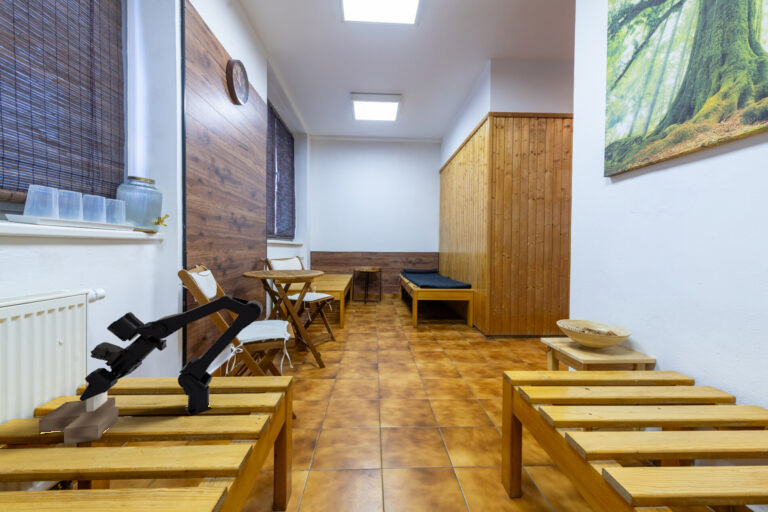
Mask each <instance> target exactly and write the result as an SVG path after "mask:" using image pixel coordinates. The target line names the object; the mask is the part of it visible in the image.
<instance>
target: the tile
mask: <svg viewBox="0 0 768 512" xmlns="http://www.w3.org/2000/svg"><path fill="white" fill-rule="evenodd" d="M88 385H89V383H87V384H86V385H85V389H86V388H87V386H88ZM107 398H108V391H106V392H105V393H101V394H99V395H96V396H94V397H91V398H89V399H87V400H86V411H87V412H91V411H95V410H96V409H97V408H98V407H100V406H101V405H102V404H103V403H104V402H106V401H107Z"/></svg>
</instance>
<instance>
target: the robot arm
mask: <svg viewBox="0 0 768 512" xmlns="http://www.w3.org/2000/svg"><path fill="white" fill-rule="evenodd" d="M222 310H226V311H227V310H228V311H229V312H231V313H234V314H235V315H237V316H236V318H235V319H234V321H233V322H232V323H231V324H230V326H229V327H228V328H227V329H226V330H225V331H224V332H223V333H222V334H221V335H220V336H219V337H218V338H217V340H215V341H214V343H213V344H212V345H211V346H210V347H209V348H208V349H207V350H206V351H205V352H204V353H203V354H202V355H200V356H197V355H194V356H192V358H191V359H190V360H189V361H188V362H187V363H186V364H185V365H184V367H182V368H181V370H180V371H179V375H178V376H177V383H178V385H179V386H180V387H181V388H182V390H183V392H184V393H185V396H187V405H188V407H183V409H184V410H185V412H186V413H187V414H188V415H189V416H192V415H196V414H199V413H202V412H205V411H208V410H211V409H212V408H211V407H208V405H209V402H210V384H211V382H212V380H213V375H211V373H209V372H208V369H209V368H210V366H211V364H213V362H214V361H215V360H216V359H217V358H218V357H219V356H220V354H221V353H222V352H223V351H224V350H225V349H226V348H227V347H228V346H229V345H230V344H231V342H233V341H234V339H235V338H236V337H237V336H238V335H239V334H240V333H241V332H242V331H243V330H245V329H246V328H248V327H249V326H250V325H252V323H254V322H255V321H257V320H258V319H259V318H260V316H261V315H262V312H263V310H264V309H263V304H262V303H261V302H260V301H259V300H255V299H254V300H253V299H252V300H248V299H245V298H240V297H236V296H233V295H231V294H224V295H222V296H221V297H219V298H216V299H214V300H211V301H208V302H206V303H203V304H202V305H199V306H197V307H195V308H192V309H189V310H187V311H184V312H178V313H175V314H170V315H165V316H163V317H161V318H158V319H156V320H153V321H149V322H146V323H144V322H143V321H142V320H140V318H138V317H136V316H135V314H134V313H133V312H131V311H129V312H126V313H125V314H124V315H122V316H121V317H119V318H118V319H116V320H115V321H112V322H111V323H110V324H109V325H108V326H107V327H106V330H107V331H108V332H110V333H112V334H113V335H114V336H115V337H116V338H117V339H119V340H120V341H122V342H127V341H129V342H131V341H132V340H134V341H132V342H131V343H130V344H129V345H128V346H126V347H125V348H124V347H121V346H119V345H117V344H113V343H110V342H107V341H104V342H101V343H99V344H97V345H96V346H95V347H94V348H93V349H92V350H91V351H90V357H91V358H92V359H96V360H100V361H104V362H105V363H104V364H105V365H106V366H107V367H109V368H110V371H109V370H108V369H106V368H105V367H99V368H96V369H94V370H93V371H91V372H90V373H89V374H88V375H87V376H85V377H84V381H86V382H87V384H89V385H88V386H87V388H86V387H85V389H84V390H83V392H82V394H81V396H80V397H79V398H78V399H79V401H84V400H87V399H89V398H91V397H94V396H96V395H99V394H101V393H105V392H106V391H107V392H108V391H109V390H111V389H112V388H113V387H114V386H115V385H116V384H117V383H118V381H119V380H120V379H122V378H124V377H126V376H128V375H130V374H132V372H134V371H136V370H137V369H138V368H139V367H141V365H142V364H143V361H144V360H145V359H147V357H148V356H149V355H150V354H151V353H152V352H153V351H155V350H158V351H159V352H161V351H163V350H164V349H166V348H167V339H166V338H168V337H169V336H171V335H172V334H175V332H177V331H179V330H181V329H182V328H184V327H186V326H187V325H189V324H192V323H194V322H196V321H199V320H201V319H203V318H206V317H207V316H210V315H213V314H215V313H217V312H220V311H222ZM137 336H138V337H137ZM136 337H137V338H136Z"/></svg>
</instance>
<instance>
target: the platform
mask: <svg viewBox="0 0 768 512" xmlns="http://www.w3.org/2000/svg"><path fill="white" fill-rule="evenodd" d="M117 422H119V406H116V396H113V397H107V401H106V402H104V403H103V404H102V405H101V406H100V407H98V408H97V409H96V410H95V411H91V412H87V411H86V400H84V401H81V400H72V401H66V402H64V403H62V404H60V405H59V406H58V407H56V408H55V409H53V410H52V411H50V412H49V413H48V414H45V416H43V417H41V418H39V420H38V434H39V433H41V432H51V431H64V432H63V445H70V444H77V443H84V442H92V441H98V440H100V439H101V438H102V437H103V436H102V434H103V432H104V431H105V430H107V429H108V428H110V427H111V426H112V427H113V426H114V425H115V424H116V423H117ZM112 427H111V428H112ZM111 428H110V429H111Z"/></svg>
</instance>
